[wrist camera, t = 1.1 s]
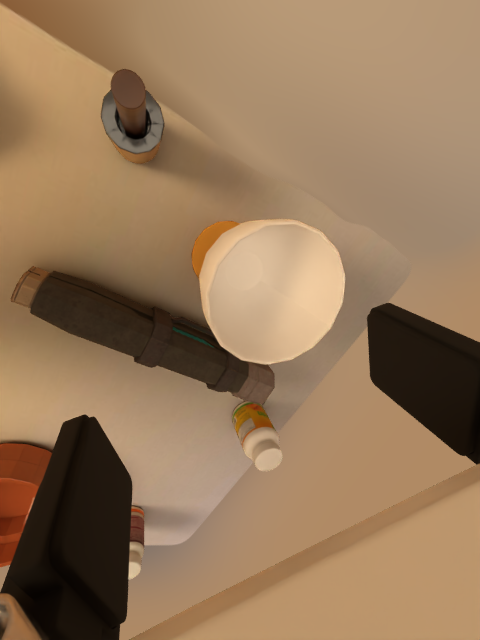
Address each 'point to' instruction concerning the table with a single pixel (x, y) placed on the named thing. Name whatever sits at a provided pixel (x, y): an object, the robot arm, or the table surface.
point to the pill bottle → (136, 541)
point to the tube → (141, 333)
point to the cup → (268, 287)
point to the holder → (126, 146)
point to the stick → (130, 102)
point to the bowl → (18, 491)
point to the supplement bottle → (257, 435)
